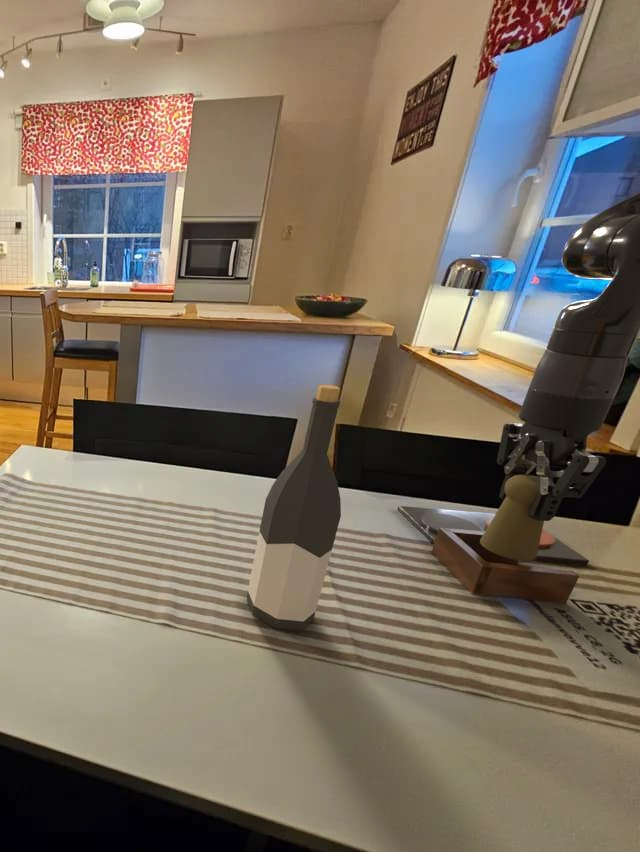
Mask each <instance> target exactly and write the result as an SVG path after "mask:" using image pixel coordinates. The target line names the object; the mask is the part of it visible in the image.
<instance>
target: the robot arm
mask: <svg viewBox="0 0 640 852" xmlns="http://www.w3.org/2000/svg"><path fill="white" fill-rule="evenodd" d="M561 263H562V265H563V268H564V269H565V270H566V271H567V272H568V273H569V274H570V275H573V276H575V277H578V278H583V279H591V280H592V279H595V280H610V282H609V283H608V284H607V286H606V287H605V288H604V289H603V290H602V291H601V292H600V294H599V295H598V296H596V297H595V298H594V299H588V300H579V301H574V302H571V303H569V304H567V305H565V306H564V307H563V308H562V309H561V310H560V312H559V314H558V316H557V318H556V320H555V323H554V326H553V329H552V331H551V335H550V337H549V340H548V343H547V345H546V348H545V350H544V353H542V354H543V355H542V356H541V358H540V360H539V361H538V363H537V365H536V368H535V370H534V372H533V375H532V378H531V380H530V384H529V386H528V388H527V390H526V394H525V397H524V400H523V402H522V405H521V407H520V410H519V414H518V418H519V419H520V420H521V422H524V423H505V424H503V427H502V433H501V437H500V443H499V448H498V452H497V458H496V463H497V464H498V465H500V466H503V467H504V468H503V472H504V473H505V476H504V479H503V482H502V484H501V487H500V492H499V495H498V496H499V498H500V499H501V500H503V501H504V500H505V498H506V494H505V484H506V482H507V481H508V479H510V478H511V477H513V476H515V475H530V473H531V472H532V471H533V470H534V469H535V468H536V471H535V472H536V473H535V474H536V476H537V477H540V493H539V492H538V493H537V496H536V498H535V501H534V503H533V506H532V508H531V511H530V513H529V517H531V518H532V519H534V520H540V521H544V522H550V521H551V520H552V519H554V518H555V516H556V514H557V513H558V509H559V507H560V505H561V503H562V500H563V499H564V498H573V499H575V498H576V499H581V498H582V497H583V496H584V495H585V493H586V492H587V491H588V489H589V488H590V487H591V485H592V483H593V482H594V481H595V479H596V478H597V477H598V476H599V474H600V472H601V471H602V470H603V469H604V467H605V466H606V464H607V460H606V457H604V456H600V455H592V453H590V452H589V451H587V447H588V445H587V441H588V437H589V436H590V435H591V434H593V433H595V432H598V431H600V430H601V429H602V427H603V425H604V423H605V420H606V417H607V416H608V413H609V411H610V409H611V406H612V404H613V402H614V399H615V397H616V395H617V392H618V390H619V388H620V386H621V384H622V381H623V379H624V375H625V372H626V368H627V364H628V360H629V356H631V353H632V350H633V348H634V345H635V343H636V342H637V338H638V336H639V333H640V192H638V193H636V194H635V193H634V195H631V196H630V197H628V198H625V199H624V200H622V201H620V202H617V203H615V204H614V205H611V206H610V207H608V208H606V209H604V210H603V211H601V212H598V213H597V214H595V215H594V216H593V217H591V218H590V219H588V220H587V221H586V222H584V223H583V224H582V225H580V227H579V228H578V229H576V230H575V231H574V233H572V234H571V236H570V237H569V239H568V240H567V242H566V243H565V244H564V247H563V250H562V253H561ZM512 449H513V451H512V452H511V453H510V450H512ZM509 453H510V454H509ZM560 468H562V469H561V470H551V469H560ZM553 478H557V481H556V483H555V486H552V482H553ZM572 484H574V485H573V486H572V487H571V485H572Z"/></svg>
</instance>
